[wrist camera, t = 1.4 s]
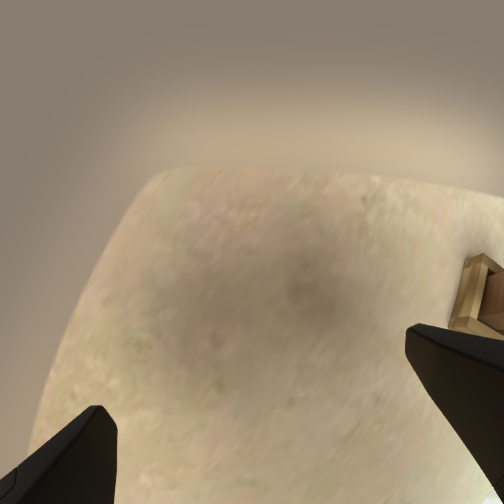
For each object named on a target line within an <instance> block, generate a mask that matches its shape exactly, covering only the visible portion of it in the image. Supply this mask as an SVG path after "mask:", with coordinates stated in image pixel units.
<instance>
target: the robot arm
mask: <svg viewBox="0 0 504 504" xmlns="http://www.w3.org/2000/svg"><path fill="white" fill-rule="evenodd" d="M405 354H406V357H407V359H408V361H409V362H410V364H411V366H412V367H413V369H414V371H415V372H416V374H417V376H418V377H419V379H420V381H421V383H422V384H423V386H424V388H425V389H426V391H427V393H428V394H429V396H430V397H431V399H432V400H433V401H434V403H435V404H436V405H437V407H438V408H439V409H440V411H441V412H442V413H443V415H444V416H445V418H446V419H447V420H448V422H449V423H450V424H451V426H452V427H453V429H454V430H455V431H456V433H457V434H458V436H459V437H460V438H461V440H462V441H463V443H464V444H465V446H466V447H467V449H468V450H469V451H470V453H471V454H472V456H473V457H474V459H475V460H476V462H477V463H478V465H479V466H480V468H481V469H482V471H483V472H484V474H485V475H486V477H487V478H488V480H489V482H490V483H491V485H492V486H493V487H494V490H495V491H496V493H497V495H498V496H499V498H500V499H501V501H502V503H503V504H504V340H499V339H494V338H489V337H484V336H478V335H473V334H468V333H463V332H458V331H454V330H449V329H444V328H439V327H435V326H430V325H425V324H421V323H418V324H415V325H413V326H411V327H409V328H408V329H407V330H406V340H405ZM117 433H118V430H117V425H116V423H115V422H114V420H113V419H112V418H111V416H110V415H109V413H108V412H107V411H106V409H105V408H104V407H103V406H101V405H92V406H89V407H88V408H87V409H86V410H84V411H83V412H82V413H81V414H80V415H78V416H77V417H76V418H75V419H74V420H72V421H71V422H70V423H69V424H68V425H66V426H65V427H64V428H63V429H62V430H60V431H59V432H58V433H57V434H56V435H54V436H53V437H52V438H51V439H50V440H48V441H47V442H46V443H45V444H44V445H42V446H41V447H40V448H39V449H38V450H36V451H35V452H34V453H33V454H32V455H30V456H29V457H28V458H27V459H26V460H24V461H23V462H22V463H21V464H19V465H18V467H16V468H14V469H13V470H12V471H11V472H10V473H8V474H7V475H6V476H4V477H3V478H2V479H1V480H0V504H114V497H115V485H116V475H117Z"/></svg>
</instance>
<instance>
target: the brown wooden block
mask: <svg viewBox="0 0 504 504" xmlns="http://www.w3.org/2000/svg"><path fill="white" fill-rule="evenodd" d="M477 320H478V321H479V322H481V323H483V324H484V325H486V326H488V327H489V328H491V329H493V330H504V272H500V273H497V274H494V275H491V276H487V277H486V281H485V286H484V291H483V296H482V300H481V304H480V308H479V312H478V316H477Z"/></svg>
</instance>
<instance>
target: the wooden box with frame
mask: <svg viewBox="0 0 504 504" xmlns="http://www.w3.org/2000/svg"><path fill="white" fill-rule="evenodd" d="M500 272H504V268H502V267H501V266H500V265H498V264H497V263H496V262H494V261H493V260H492V259H490V258H489V257H488V256H486V255H485V254H484V253H482V254H480V255H478V256H475V257H473V258H470V259H468V260H465V265H464V269H463V274H462V278H461V283H460V287H459V291H458V295H457V299H456V302H455V306H454V310H453V313H452V316H451V320H450V323H449V326H448V328H449V329H451V330H454V331H458V332H463V333H468V334H473V335H478V336H484V337H489V338H494V339H499V340H504V330H493V329H491V328H489V327H488V326H486V325H484V324H483V323H481V322H479V321H478V320H477V316H478V312H479V308H480V304H481V300H482V296H483V291H484V286H485V281H486V277H487V276H491V275H494V274H497V273H500Z"/></svg>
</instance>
